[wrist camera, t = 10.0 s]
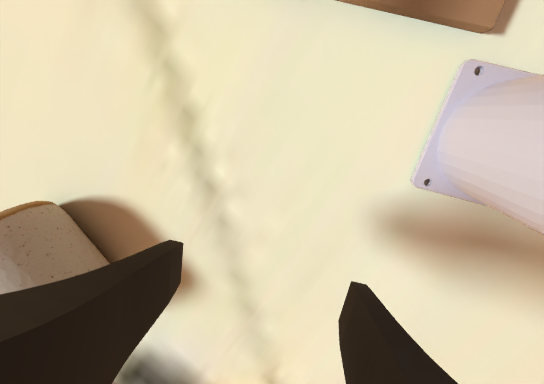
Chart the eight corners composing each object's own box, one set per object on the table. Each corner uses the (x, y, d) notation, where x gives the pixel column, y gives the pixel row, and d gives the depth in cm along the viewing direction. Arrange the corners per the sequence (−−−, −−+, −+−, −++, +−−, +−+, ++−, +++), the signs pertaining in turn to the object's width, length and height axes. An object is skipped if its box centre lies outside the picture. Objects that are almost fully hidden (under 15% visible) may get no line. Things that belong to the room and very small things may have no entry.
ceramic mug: (69, 183, 22) (-53, 221, 14) (132, 258, 23) (51, 326, 16) (4, 239, 25) (-123, 293, 18) (63, 302, 26) (-31, 376, 19)
